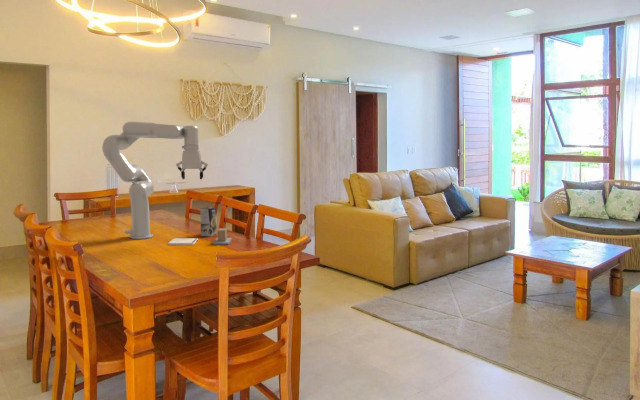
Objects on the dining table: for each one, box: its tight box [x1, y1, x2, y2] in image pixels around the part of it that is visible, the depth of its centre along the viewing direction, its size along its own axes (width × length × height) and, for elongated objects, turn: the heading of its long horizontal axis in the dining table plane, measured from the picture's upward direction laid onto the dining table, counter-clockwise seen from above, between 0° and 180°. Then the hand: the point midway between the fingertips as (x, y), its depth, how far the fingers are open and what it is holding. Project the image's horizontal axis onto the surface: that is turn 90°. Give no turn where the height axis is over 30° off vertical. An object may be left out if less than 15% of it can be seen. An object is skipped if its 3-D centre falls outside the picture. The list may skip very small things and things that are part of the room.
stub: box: [212, 227, 233, 245], centre depth 266 cm, size 8×12×7 cm, turn 2°
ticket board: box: [168, 237, 199, 246], centre depth 266 cm, size 13×12×1 cm
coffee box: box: [199, 206, 218, 237], centre depth 285 cm, size 9×6×16 cm
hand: (192, 179), depth 273 cm, fingers open, 9 cm apart
